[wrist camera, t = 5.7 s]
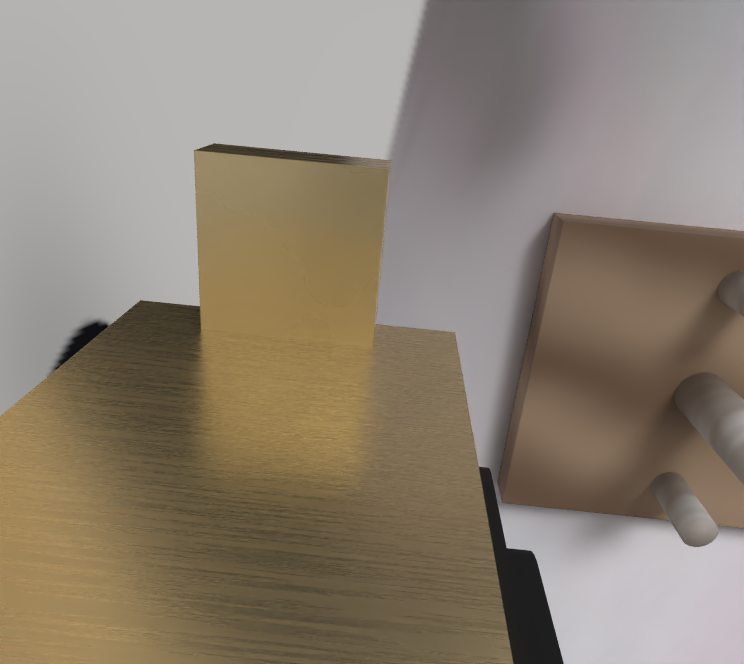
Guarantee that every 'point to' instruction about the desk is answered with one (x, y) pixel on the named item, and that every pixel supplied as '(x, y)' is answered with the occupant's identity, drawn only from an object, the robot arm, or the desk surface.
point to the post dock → (634, 377)
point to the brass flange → (254, 456)
